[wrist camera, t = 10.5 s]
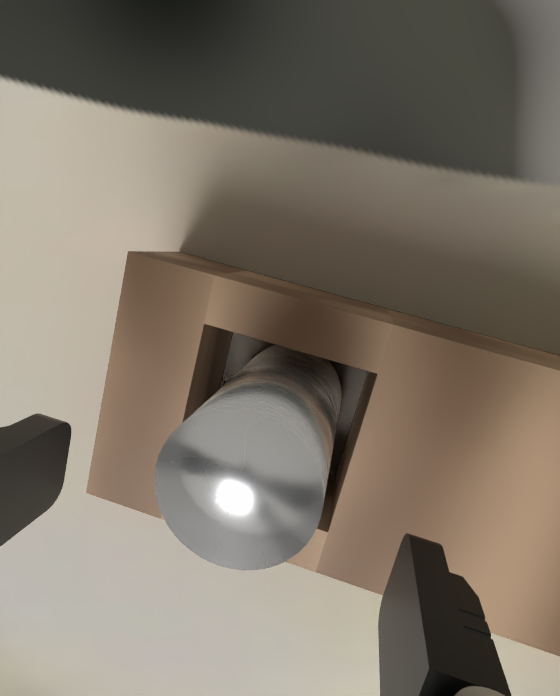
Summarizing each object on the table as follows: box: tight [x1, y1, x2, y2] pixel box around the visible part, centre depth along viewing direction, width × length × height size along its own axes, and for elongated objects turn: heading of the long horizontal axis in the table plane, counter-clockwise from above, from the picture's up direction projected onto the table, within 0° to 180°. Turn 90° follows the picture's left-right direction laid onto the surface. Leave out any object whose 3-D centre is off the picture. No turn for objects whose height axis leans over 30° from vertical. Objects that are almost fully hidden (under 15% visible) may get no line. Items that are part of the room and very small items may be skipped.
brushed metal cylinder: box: [154, 345, 342, 570], centre depth 15 cm, size 4×4×8 cm
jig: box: [86, 251, 560, 656], centre depth 16 cm, size 25×8×4 cm, turn 76°
